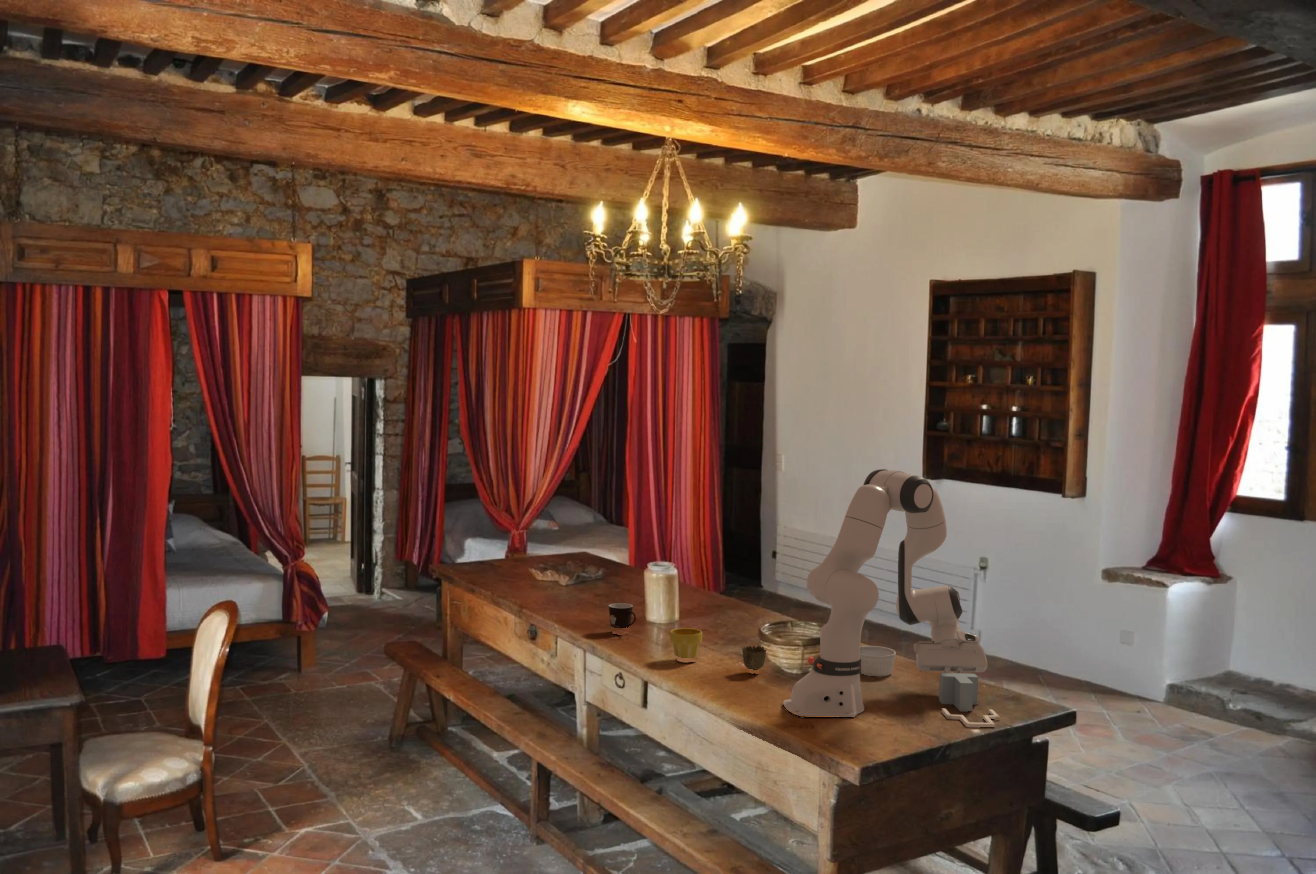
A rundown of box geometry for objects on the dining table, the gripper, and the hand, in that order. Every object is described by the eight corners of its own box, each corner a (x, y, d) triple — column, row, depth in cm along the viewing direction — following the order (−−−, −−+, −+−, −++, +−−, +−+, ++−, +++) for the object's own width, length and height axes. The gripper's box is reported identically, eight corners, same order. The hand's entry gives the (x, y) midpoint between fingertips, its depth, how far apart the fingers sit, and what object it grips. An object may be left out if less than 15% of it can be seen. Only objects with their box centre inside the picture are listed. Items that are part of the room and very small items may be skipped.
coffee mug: (605, 631, 387) (605, 603, 386) (628, 630, 389) (629, 602, 389) (613, 638, 375) (614, 610, 375) (637, 637, 378) (638, 609, 378)
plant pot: (665, 658, 351) (666, 628, 350) (695, 656, 354) (696, 626, 353) (675, 666, 341) (676, 635, 340) (706, 664, 344) (707, 633, 344)
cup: (737, 671, 336) (738, 646, 336) (759, 669, 339) (759, 644, 338) (748, 677, 329) (748, 651, 329) (769, 675, 332) (770, 650, 331)
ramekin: (863, 679, 330) (864, 657, 330) (845, 668, 343) (845, 646, 342) (902, 677, 334) (903, 654, 333) (882, 665, 346) (883, 644, 346)
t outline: (954, 726, 285) (954, 723, 285) (941, 711, 298) (941, 708, 298) (1007, 728, 285) (1007, 724, 285) (992, 712, 298) (992, 709, 298)
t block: (948, 711, 299) (949, 682, 299) (938, 700, 309) (939, 672, 309) (983, 711, 299) (985, 683, 299) (973, 701, 309) (974, 673, 309)
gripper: (914, 635, 317) (921, 676, 308) (984, 636, 317) (993, 678, 307) (910, 646, 321) (917, 687, 312) (979, 647, 321) (987, 689, 312)
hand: (955, 683), depth 310 cm, fingers closed
